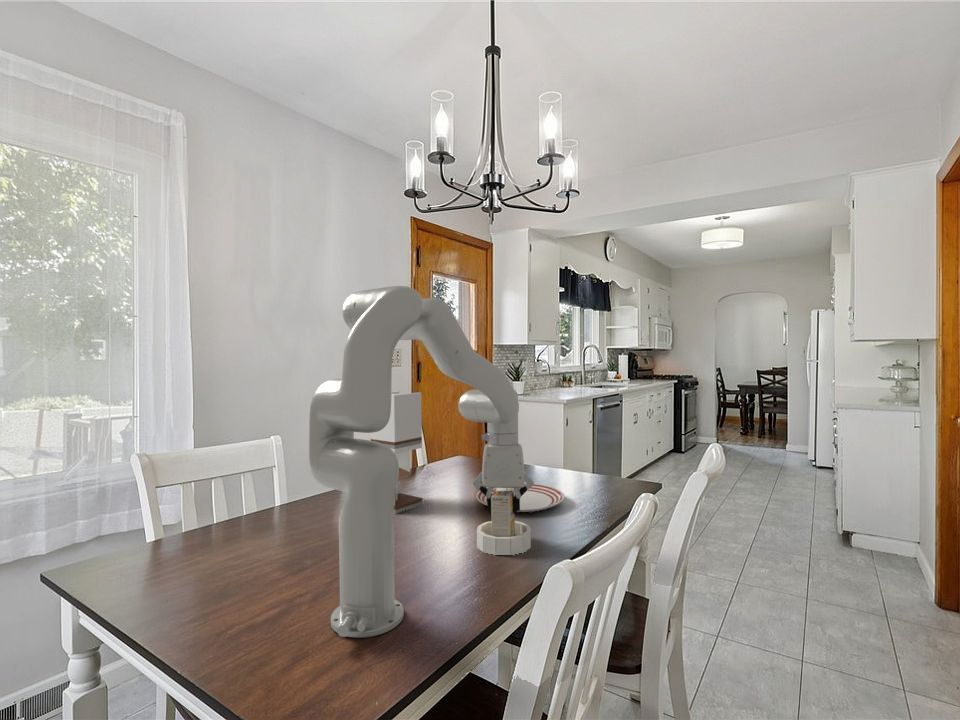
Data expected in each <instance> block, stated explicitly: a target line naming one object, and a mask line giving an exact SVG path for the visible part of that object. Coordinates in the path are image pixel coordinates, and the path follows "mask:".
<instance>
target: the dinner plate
mask: <svg viewBox="0 0 960 720" xmlns="http://www.w3.org/2000/svg"><path fill="white" fill-rule="evenodd" d="M526 483H527V482H524V484H523V486H524V485H525V484H526ZM485 487H486V486H485ZM521 487H522V486H521ZM521 487H519V489H520V488H521ZM486 488H487V489H488V487H486ZM496 489H497V488H493V491H492V495H493V493H494V492H495V490H496ZM475 498H476V499H477V501H478V502H479V503H480V504H482V505H485V506H487V498H486V496H485V495H484V494H483V493H482V492H481V491H480V490H479V491H478V492H477V493H476V496H475ZM564 500H565V493H564V492H563V491H562V490H560V489H558V488H556V487H553V486H551V485H546V484H542V483H534V485H533V486H532V487H531V488H529V489H528V490H527V491H526V492H525V493H524V494H523V495H522V496H521V498H520V511H517V512H529V513H536V512H535V511H537V512H539V511H540V510H541V511H545V510H547V509H550V508H553V507H555V506H558V505H559V504H561V503H562V502H563V501H564ZM541 511H540V512H541Z"/></svg>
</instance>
